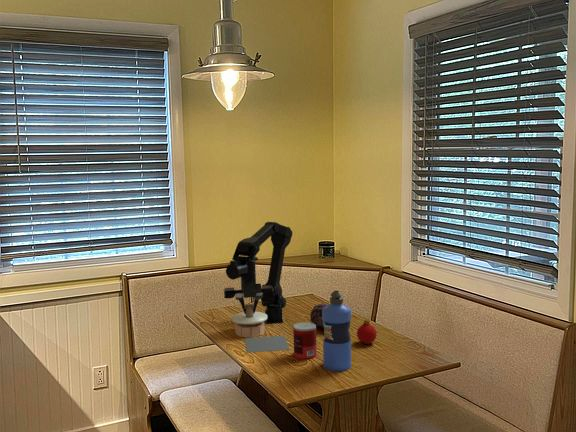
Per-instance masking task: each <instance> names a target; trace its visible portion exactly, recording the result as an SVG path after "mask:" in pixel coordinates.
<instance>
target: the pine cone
mask: <svg viewBox="0 0 576 432" xmlns="http://www.w3.org/2000/svg"><path fill="white" fill-rule="evenodd" d="M329 305H330V304H327V303H318V304H315V305H314V306H313V308H312V309H311V311H310V313H309V316H310V319H309V321H310V323H313V324H315V325H316V327H317V326H318V327H319V328H320V329H321V328H324V325H323V320H322V309H323V308H324V307H326V306H329Z"/></svg>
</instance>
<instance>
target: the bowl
mask: <svg viewBox="0 0 576 432" xmlns="http://www.w3.org/2000/svg"><path fill="white" fill-rule="evenodd" d="M265 324H266V323H265V321H264V322H261V323H257V324H239V323H235V322H234V333H235V335H236V336H238V337H239V338H256V337H261V336H262V335H264V334H265V332H266V328H265Z"/></svg>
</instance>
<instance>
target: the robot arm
mask: <svg viewBox="0 0 576 432" xmlns="http://www.w3.org/2000/svg"><path fill="white" fill-rule="evenodd" d="M292 237H293V230H292V229H291V227H290V226H286V225H284V224H283V225H282V224H280V223H278V222H277V221H267V222H265V223H264V225H263V226H262V227H261V228H259V229H258V230H257V231H256V232H255V233H254V234H252V235H251V236H250V237H246V238H243V239H241V240H240V241H238V243H237V245H236V247H235V250H234V253H233V255H232V260H230V261H229V264H228V265H227V267H226V269H225V274H226V276H227V278H229V279H230V280H236V279H239V278H240V289H235V287H232V286H231V287H225V288H224V289H223V295H224V299H233V298H234V297H235V300H236V301H238V302H239V303H240V305H241V308H242V310H243V312H244V313H245V314H246V310H245V305H246V304H245V300H244V299H248V298H252V299H253V302H252V303H253V304H252V305H253V314H254V313H255V312H256V310H257V307H258V303H259V301H261V305H262V307H266V308H265V309H264V313H265V314H267V320H266V323H267V324H274V323H275V324H279V323H283V322H284V320H283V308H285V307H286V306H287V300H286V298H285V297H284V296H283V289H282V286H281V277H282V271H283V266H284V265H283V264H284V259H285V258H284V257H285V251H286V248H287V247H288V246H289V245H290V243H291V240H292ZM269 238H270V241H271V244H272V246H273V247H272V254H271V259H270V265H269V271H268V272H269V273H268V278H267V282H266V283H265V284H262V283H260V282H259V283H257V277H256V275H257V274H256V273H257V272H256V271H257V270H256V269H257V268H256V261H259V258H258V257H257V254H259V252H260V249H261V246H262V245H263V244H264V243H265V242H266V241H267V240H268V239H269Z"/></svg>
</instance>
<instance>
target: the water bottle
mask: <svg viewBox="0 0 576 432" xmlns="http://www.w3.org/2000/svg"><path fill="white" fill-rule="evenodd" d="M330 296H331V297H329V303H330V304H328V305H329V306H326V307H324V308H323V309H322V320H323V325H324V327H323V340H322V341H323V342H322V343H323V347H322V348H323V351H322V353H323V355H322V356H323V368H324V369H325V368H326V370H328V371H331V372H345V371H348V370H349V369H351V368H352V338H351V334H350V330H351V329H350V328H351V321H352V308H351V307H349V306H347V305H345V304H343V303H344V298H343V294H342V293H341V291H339V290H333V291H332V292H331V293H330Z"/></svg>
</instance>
